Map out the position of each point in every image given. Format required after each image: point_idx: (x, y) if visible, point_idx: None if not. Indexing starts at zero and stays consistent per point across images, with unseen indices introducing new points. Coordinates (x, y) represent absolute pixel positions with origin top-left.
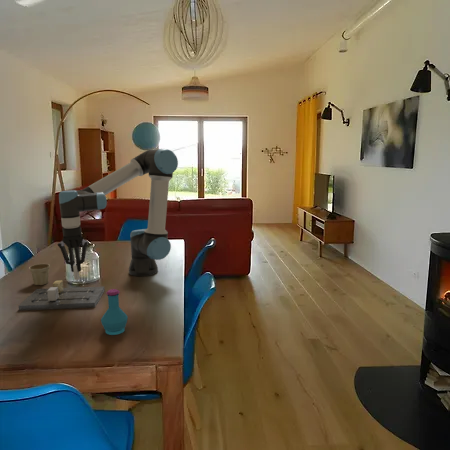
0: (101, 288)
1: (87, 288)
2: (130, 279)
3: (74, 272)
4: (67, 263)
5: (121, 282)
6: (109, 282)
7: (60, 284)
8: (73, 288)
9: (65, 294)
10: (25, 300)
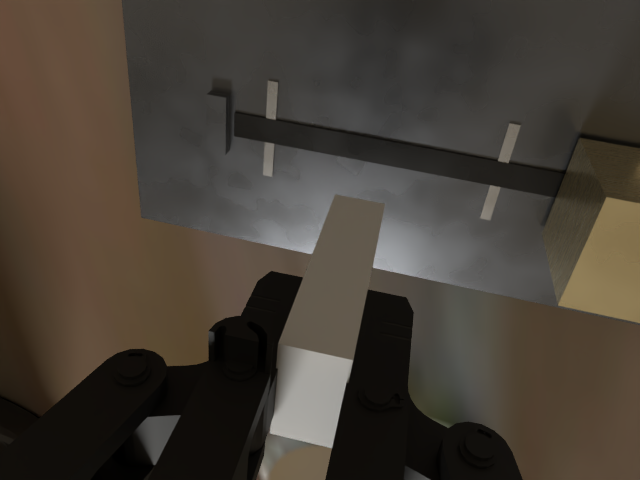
0: (152, 170)
1: (291, 213)
2: (39, 367)
3: (360, 265)
4: (473, 435)
5: (82, 333)
6: (171, 363)
7: (592, 203)
8: (434, 258)
9: (521, 88)
10: None
